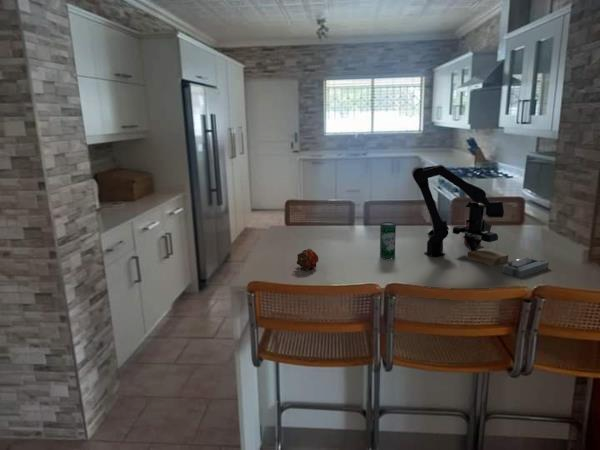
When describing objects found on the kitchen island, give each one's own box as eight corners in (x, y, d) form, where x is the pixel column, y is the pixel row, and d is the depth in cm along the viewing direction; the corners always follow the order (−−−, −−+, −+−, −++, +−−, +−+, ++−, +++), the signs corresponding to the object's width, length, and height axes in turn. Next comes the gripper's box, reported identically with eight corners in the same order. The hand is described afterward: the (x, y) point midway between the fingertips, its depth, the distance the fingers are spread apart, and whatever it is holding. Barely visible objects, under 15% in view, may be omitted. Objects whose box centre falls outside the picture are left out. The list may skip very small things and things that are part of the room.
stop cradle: (520, 277, 164) (520, 271, 163) (503, 272, 170) (503, 266, 169) (548, 268, 173) (548, 262, 172) (530, 263, 179) (531, 257, 178)
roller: (516, 273, 170) (519, 264, 169) (507, 268, 173) (510, 259, 172) (530, 268, 175) (533, 259, 173) (520, 263, 178) (524, 255, 176)
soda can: (462, 246, 205) (464, 220, 202) (465, 242, 211) (466, 217, 209) (479, 247, 202) (481, 221, 199) (481, 243, 208) (483, 218, 205)
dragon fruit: (303, 277, 176) (308, 271, 188) (321, 264, 174) (324, 259, 186) (291, 259, 176) (296, 254, 188) (308, 247, 174) (312, 243, 186)
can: (384, 260, 188) (384, 225, 185) (377, 256, 194) (378, 222, 191) (397, 258, 190) (397, 224, 186) (390, 254, 196) (391, 221, 192)
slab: (491, 266, 178) (492, 259, 177) (467, 258, 188) (467, 252, 187) (507, 261, 183) (508, 254, 182) (482, 254, 193) (483, 248, 192)
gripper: (507, 218, 184) (504, 254, 188) (469, 211, 199) (467, 244, 203) (490, 222, 178) (487, 259, 182) (452, 214, 193) (450, 248, 197)
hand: (473, 252), depth 191 cm, fingers closed
